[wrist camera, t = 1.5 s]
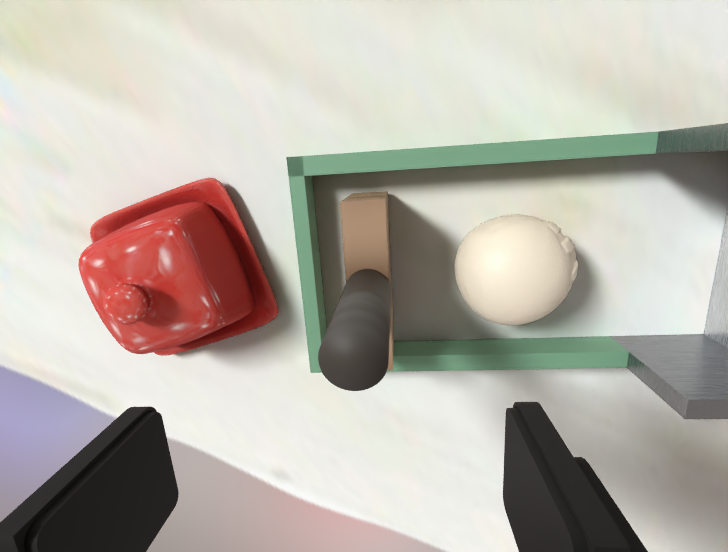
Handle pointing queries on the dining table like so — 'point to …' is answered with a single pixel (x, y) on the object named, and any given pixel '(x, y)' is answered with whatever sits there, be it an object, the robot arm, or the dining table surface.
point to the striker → (362, 298)
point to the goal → (699, 351)
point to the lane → (452, 351)
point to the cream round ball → (515, 269)
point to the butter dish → (176, 272)
